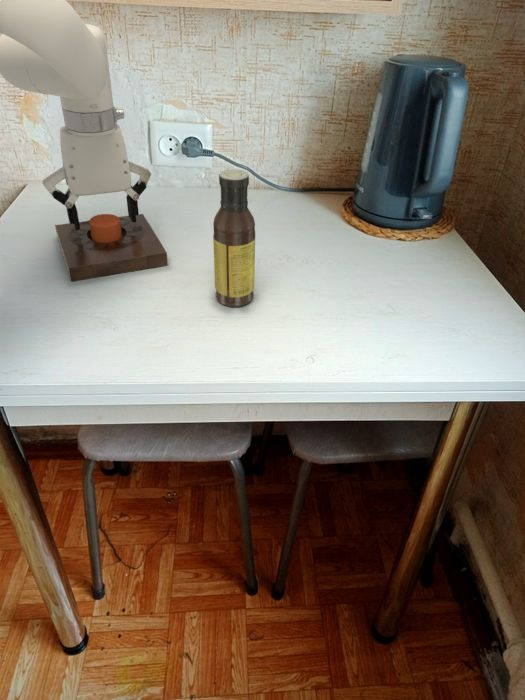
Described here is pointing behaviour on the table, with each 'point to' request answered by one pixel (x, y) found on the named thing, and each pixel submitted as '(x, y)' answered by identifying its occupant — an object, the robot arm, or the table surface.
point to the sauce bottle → (234, 241)
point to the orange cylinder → (105, 228)
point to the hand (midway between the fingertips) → (105, 222)
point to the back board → (110, 249)
